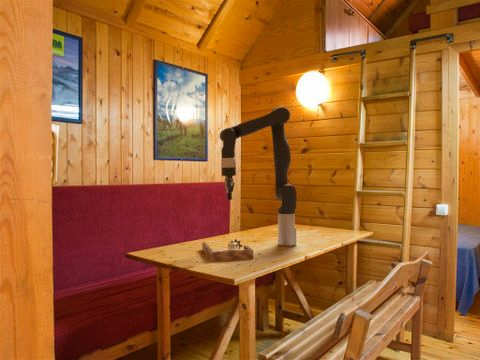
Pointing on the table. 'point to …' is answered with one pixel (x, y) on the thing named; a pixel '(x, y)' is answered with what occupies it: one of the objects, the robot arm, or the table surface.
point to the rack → (227, 253)
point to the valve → (234, 244)
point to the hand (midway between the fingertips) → (229, 199)
